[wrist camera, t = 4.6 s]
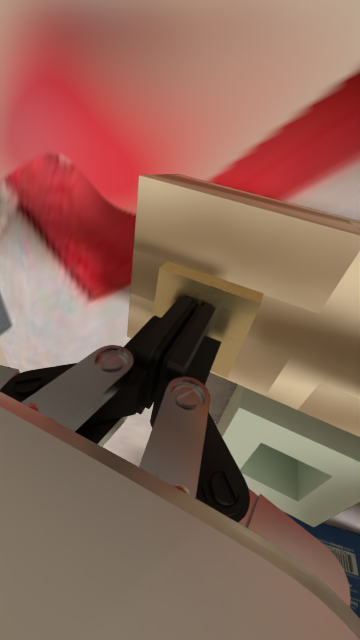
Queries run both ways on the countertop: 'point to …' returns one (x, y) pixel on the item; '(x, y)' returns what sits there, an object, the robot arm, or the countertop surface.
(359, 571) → the protein box
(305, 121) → the countertop surface
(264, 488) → the pale green square block
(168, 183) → the socket block
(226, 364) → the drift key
